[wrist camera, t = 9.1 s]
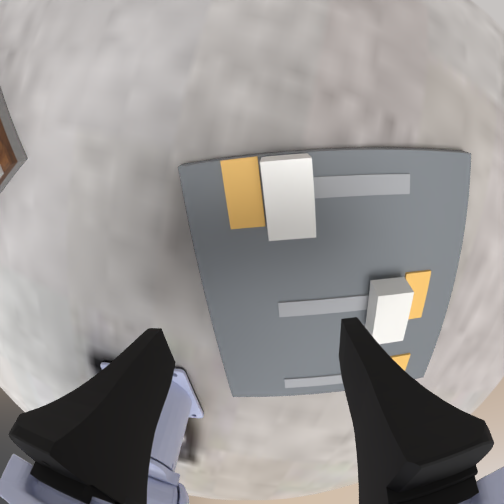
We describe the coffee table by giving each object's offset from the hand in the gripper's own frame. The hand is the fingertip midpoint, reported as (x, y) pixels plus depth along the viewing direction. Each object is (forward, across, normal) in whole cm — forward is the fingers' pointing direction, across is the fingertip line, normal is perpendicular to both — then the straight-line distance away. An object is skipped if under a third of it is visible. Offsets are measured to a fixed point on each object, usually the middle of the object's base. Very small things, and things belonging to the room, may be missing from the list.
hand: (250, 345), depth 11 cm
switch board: (+8, -5, +4) cm, 11 cm away
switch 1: (+7, -2, -4) cm, 8 cm away
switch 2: (+7, -8, +4) cm, 11 cm away
